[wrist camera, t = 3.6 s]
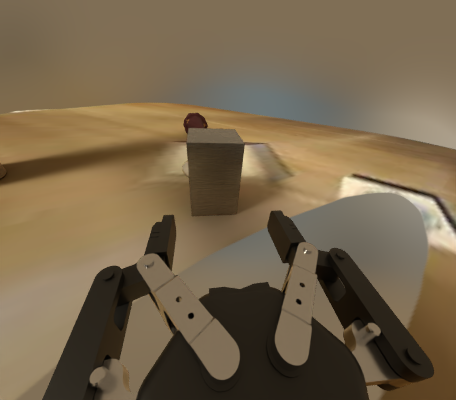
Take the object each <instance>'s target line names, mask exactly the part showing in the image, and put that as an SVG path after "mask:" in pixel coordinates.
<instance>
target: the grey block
mask: <svg viewBox="0 0 456 400" xmlns="http://www.w3.org/2000/svg"><path fill="white" fill-rule="evenodd" d="M244 145H245V143H244V142H243V140H242V139H241V138H240V136H239V135H238V133H237V132H236V130H235V129H206V128H189V129H188V136H187V156H188V170H189V184H190V198H191V212H192V216H209V215H231V214H236V213H237V205H238V196H239V188H240V179H241V171H242V162H243V154H244Z"/></svg>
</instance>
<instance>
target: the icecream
mask: <svg viewBox="0 0 456 400" xmlns="http://www.w3.org/2000/svg"><path fill="white" fill-rule="evenodd" d="M183 125H184V127H185V131H186V133H187V134H188V129H189V128H206V129H207V127H208V125H207V123H206V121H205V118H204V117H203V116H201V115H200V114H199V113H189V114H188V115H187V117H186V118H185V120H184V124H183Z"/></svg>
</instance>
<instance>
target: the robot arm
mask: <svg viewBox="0 0 456 400" xmlns="http://www.w3.org/2000/svg"><path fill="white" fill-rule="evenodd" d="M5 174H6V170H5V169H4V167H3V166H2V164H1V163H0V178H2V177H3V176H4V175H5ZM267 228H268V232H269V234H270V236H271V238H272V240H273V243H274V245H275V247H276V249H277V251H278V254H279V255H280V258H281V260H282V262H283V263H289V265H290V266H289V268H288V271H287V274H286V278H285V282H284V284H283V288H282V290H281V291H280V290H278V289H276V288H272V287H270V286H269V284H268V282H265V283H257V284H252V285H250V286H248V287H245V288H242V289H235V288H227V287H219V288H211V289H209V294H206V295H204V296H203V297H201V298H200V299H199V300H198V299H197V297H196V296H195V295H194V294H193V293H192V291H191V290H190V289H189V288H188V287H187V285H186V284H185V283H184V282H183V281H182V279H181V278H180V277H179V276H178V275H176V276H175V275H174V274H173V273H172V264H173V256H174V249H175V241H176V226H175V219H174V215H164V216H163V219H162V222H156V223H155V225H154V226H153V227H152V230H151V234H150V238H149V240H148V244H147V247H146V251H145V254H144V256H143V257H142V258H140V260H139V261H138V263H136V264H134V265H132V266H129V267H126V268H123V269H121V268H120V267H118V266H109V267H107V268H105V269H103V270H101V271H100V272H99V273H98V274H97V275H96V277H95V279H94V281H93V284H92V286H91V288H90V290H89V293H88V295H87V297H86V300H85V302H84V304H83V307H82V309H81V311H80V314H79V316H78V318H77V321H76V323H75V325H74V327H73V330H72V332H71V334H70V337H69V339H68V341H67V344H66V346H65V348H64V351H63V353H62V355H61V358H60V360H59V362H58V364H57V367H56V369H55V372H54V374H53V376H52V378H51V381H50V383H49V386H48V388H47V390H46V392H45V395H44V397H43V399H42V400H369V397H368V393H367V387H366V386H369V385H377V386H379V387H380V388H382V389H384V390H386V391H391V390H394V389H397V388H400V387H403V386H406V385H409V384H413V383H416V382H419V381H422V380H425V379H428V378H430V377H432V376H433V374H434V368H433V365H432V363H431V361H430V359H429V358H428V357H427V355H426V354H425V353H424V351H423V350H422V349H421V347H420V346H419V345H418V344H417V342H416V341H415V340H414V338H413V337H412V336H411V335H410V333H409V332H408V331H407V329H406V328H405V327H404V326H403V324H402V323H401V322H400V320H399V319H398V318H397V316H396V315H395V314H394V313H393V311H392V310H391V309H390V307H389V306H388V305H387V304H386V302H385V301H384V300H383V299H382V297H381V296H380V295H379V293H378V292H377V291H376V289H375V288H374V287H373V286H372V284H371V283H370V282H369V280H368V279H367V278H366V277H365V275H364V274H363V273H362V271H361V270H360V269H359V268H358V266H357V265H356V264H355V262H354V261H353V260H352V259H351V257H350V256H349V255H348V254H347V253H346V252H345V251H343V250H341V249H338V248H332V249H331V250H330V251H329V252H325V251H320V250H317V249H316V248H315V247H314V246H313V245H312V244H310V243H307V242H306V241H305V240H304V238H303V236H302V235H301V234H300V232H299V231H298V229H297V227H296V226H295V225H294V223H293V221H292V220H291V219H290V218H289V217H287V216H284V215H283V213H282V211H280V210H279V211H271V213H270V217H269V221H268V225H267ZM339 278H340V279H339ZM317 279H318V281H319V282H320V285H321V286H322V288H323V290H324V292H325V294H326V296H327V298H328V300H329V302H330V303H331V305H332V307H333V309H334V311H335V313H336V315H337V316H338V319H339V320H340V322H341V324H342V326H343V328H344V333H343V337H344V340H345V344H344V343H343V342H341V341H340V340H339V339H338V338H337V337H335V336H334V335H333V334H332V333H331V332H330V331H328V330H327V329H326V328H325V327H324V326H323V325H321V324H320V323H319V322H318V321H316V320H315V319H314V318H313V317H312V311H313V303H314V297H315V289H316V281H317ZM340 280H341V281H340ZM342 283H343V284H342ZM344 286H345V287H344ZM147 294H148V295H149V297H150V298H151V300H152V302H153V303H154V305H155V306H156V308H157V309H158V311H159V313H160V315H161V316H162V318H163V320H164V322H165V324H166V326H167V327H168V329H169V330H170V332H171V334H172V335H173V337H172V338H171V340H170V341H169V343H168V344H167V346H166V347H165V349H164V350H163V352H162V353H161V355H160V356H159V358H158V360H157V361H156V362H155V364H154V366H153V367H152V369H151V370H150V372H149V373H148V375H147V376H146V378H145V379H144V381H143V383H142V385H141V387H140V389H139V392H138V393H131V391H130V388H129V372H128V370H127V368H126V367H125V366H124V365H123V364H122V363H121V362H120V361H119V359H120V355H121V351H122V346H123V341H124V337H125V333H126V328H127V324H128V319H129V315H130V310H131V306H132V301H133V300H135V299H138V298H140V297H142V296H145V295H147Z"/></svg>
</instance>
